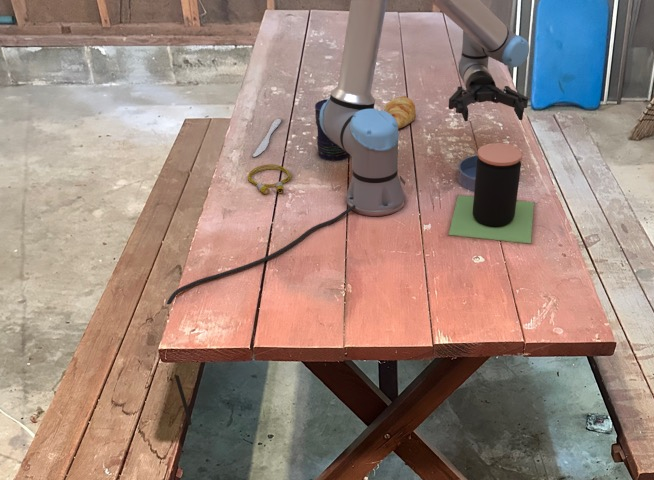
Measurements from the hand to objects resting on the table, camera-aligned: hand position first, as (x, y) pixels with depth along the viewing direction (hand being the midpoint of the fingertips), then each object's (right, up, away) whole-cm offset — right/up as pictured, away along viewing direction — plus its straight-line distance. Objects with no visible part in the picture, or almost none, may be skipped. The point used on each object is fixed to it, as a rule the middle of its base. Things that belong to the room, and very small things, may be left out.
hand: (494, 115), depth 171 cm
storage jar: (-42, -2, +36) cm, 55 cm away
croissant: (-22, +14, +56) cm, 62 cm away
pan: (+1, -11, +24) cm, 26 cm away
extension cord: (-59, -12, +23) cm, 65 cm away
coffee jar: (+1, -24, +7) cm, 25 cm away
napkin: (+1, -24, +7) cm, 25 cm away
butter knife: (-63, +5, +44) cm, 77 cm away
